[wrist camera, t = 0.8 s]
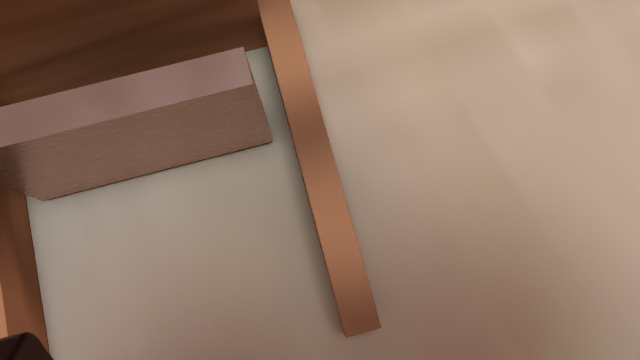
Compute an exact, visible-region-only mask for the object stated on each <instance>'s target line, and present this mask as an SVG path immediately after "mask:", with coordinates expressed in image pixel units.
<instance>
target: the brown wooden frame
mask: <svg viewBox="0 0 640 360" xmlns="http://www.w3.org/2000/svg"><path fill="white" fill-rule="evenodd" d="M264 46H268V50H269V53H270V57H271V61H272V65H273V68H274V72H275V76H276V80H277V83H278V87H279V91H280V95H281V99H282V102H283V106H284V110H285V114H286V117H287V121H288V125H289V129H290V132H291V136H292V140H293V144H294V148H295V151H296V155H297V159H298V163H299V166H300V170H301V174H302V178H303V181H304V185H305V189H306V193H307V197H308V200H309V204H310V208H311V212H312V215H313V219H314V223H315V227H316V230H317V234H318V238H319V242H320V246H321V249H322V253H323V257H324V261H325V264H326V268H327V272H328V276H329V280H330V283H331V287H332V291H333V295H334V298H335V302H336V306H337V310H338V313H339V317H340V321H341V325H342V329H343V332H344V334H345V336H346V337H349V336H353V335H356V334H360V333H364V332H367V331H371V330H375V329H378V328H381V325H380V322H379V318H378V314H377V311H376V307H375V304H374V300H373V297H372V293H371V289H370V286H369V282H368V279H367V275H366V272H365V268H364V264H363V261H362V257H361V254H360V250H359V247H358V243H357V239H356V236H355V232H354V229H353V225H352V222H351V218H350V214H349V211H348V207H347V204H346V200H345V197H344V193H343V189H342V186H341V182H340V179H339V175H338V172H337V168H336V164H335V161H334V157H333V154H332V150H331V147H330V143H329V139H328V136H327V132H326V129H325V125H324V122H323V118H322V114H321V111H320V107H319V104H318V100H317V96H316V93H315V89H314V86H313V82H312V79H311V75H310V71H309V68H308V64H307V61H306V57H305V54H304V50H303V46H302V43H301V39H300V36H299V32H298V29H297V25H296V21H295V18H294V14H293V11H292V7H291V4H290V0H0V107H2V106H6V105H10V104H14V103H19V102H23V101H27V100H31V99H35V98H39V97H43V96H47V95H51V94H55V93H59V92H63V91H67V90H71V89H75V88H79V87H83V86H87V85H91V84H95V83H99V82H103V81H107V80H111V79H115V78H119V77H123V76H127V75H131V74H135V73H139V72H143V71H148V70H152V69H156V68H160V67H164V66H168V65H172V64H176V63H180V62H184V61H188V60H192V59H196V58H200V57H204V56H208V55H212V54H216V53H220V52H224V51H228V50H232V49H236V48H240V47H244V50H245V51H248V50H252V49H256V48H260V47H264ZM23 332H31V333H34V334H35V335H37V337H38V338H39V339H40V341H41V342H42V343H43V345H44V346H45V348H46V349H47V351H48V352H49V348H48V342H47V335H46V329H45V322H44V316H43V309H42V303H41V296H40V290H39V283H38V277H37V270H36V264H35V257H34V251H33V244H32V238H31V231H30V225H29V218H28V212H27V205H26V199H25V194H22V193H19V192H17V191H14V190H11V189H8V188H5V187H2V186H0V339H1V338H4V337H7V336H11V335H15V334H19V333H23Z"/></svg>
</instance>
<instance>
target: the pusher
mask: <svg viewBox="0 0 640 360" xmlns="http://www.w3.org/2000/svg"><path fill="white" fill-rule="evenodd" d="M269 142H272V139H271V135H270V131H269V127H268V123H267V119H266V115H265V112H264V109H263V106H262V103H261V100H260V97H259V94H258V90H257V87H256V84H255V81H254V78H253V75H252V72H251V69H250V66H249V63H248V60H247V57H246V53H245V50H244V47H240V48H236V49H232V50H228V51H224V52H220V53H216V54H212V55H208V56H204V57H200V58H196V59H192V60H188V61H184V62H180V63H176V64H172V65H168V66H164V67H160V68H156V69H152V70H148V71H143V72H139V73H135V74H131V75H127V76H123V77H119V78H115V79H111V80H107V81H103V82H99V83H95V84H91V85H87V86H83V87H79V88H75V89H71V90H67V91H63V92H59V93H55V94H51V95H47V96H43V97H39V98H35V99H31V100H27V101H23V102H19V103H14V104H10V105H6V106H2V107H0V186H2V187H5V188H8V189H11V190H14V191H17V192H19V193H22V194H25V195H28V196H31V197H34V198H37V199H40V200H47V199H51V198H55V197H59V196H63V195H66V194H70V193H74V192H78V191H82V190H86V189H90V188H94V187H98V186H101V185H105V184H109V183H113V182H117V181H121V180H125V179H129V178H133V177H137V176H140V175H144V174H148V173H152V172H156V171H160V170H164V169H168V168H172V167H175V166H179V165H183V164H187V163H191V162H195V161H199V160H203V159H207V158H210V157H214V156H218V155H222V154H226V153H230V152H234V151H238V150H242V149H245V148H249V147H253V146H257V145H261V144H265V143H269Z"/></svg>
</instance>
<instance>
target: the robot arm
mask: <svg viewBox="0 0 640 360" xmlns="http://www.w3.org/2000/svg"><path fill="white" fill-rule="evenodd" d="M0 360H53V358H52V357H51V355H50V354H49V352H48V351H47V349H46V348H45V346H44V345H43V343H42V342H41V341H40V339H39V338H38V337H37V335H35V334H34V333H31V332H23V333H19V334H15V335H11V336H7V337H4V338H1V339H0Z"/></svg>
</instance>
